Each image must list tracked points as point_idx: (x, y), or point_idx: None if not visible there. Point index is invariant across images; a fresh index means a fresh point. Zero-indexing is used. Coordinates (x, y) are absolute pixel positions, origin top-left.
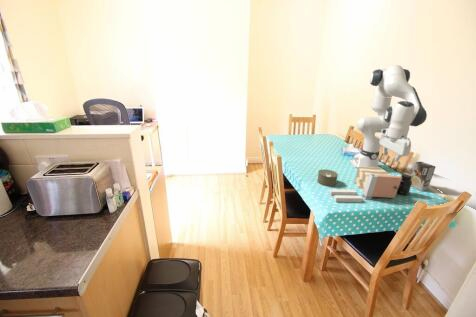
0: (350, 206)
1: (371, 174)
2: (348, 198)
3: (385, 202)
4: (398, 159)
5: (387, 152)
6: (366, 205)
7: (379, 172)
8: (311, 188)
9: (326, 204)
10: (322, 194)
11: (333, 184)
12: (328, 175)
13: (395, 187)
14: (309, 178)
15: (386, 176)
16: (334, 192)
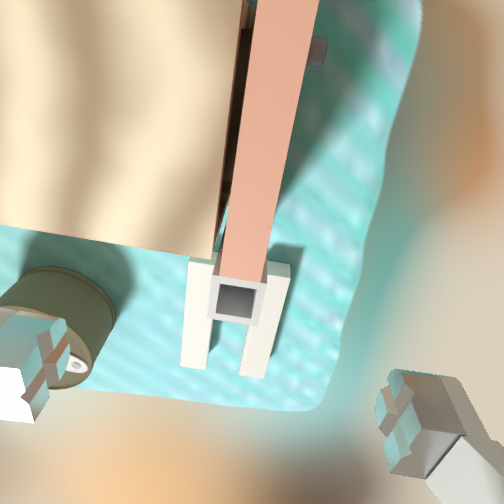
0: (311, 331)
1: (216, 305)
2: (274, 336)
3: (322, 131)
4: (471, 429)
5: (24, 385)
6: (322, 262)
7: (77, 91)
8: (140, 388)
9: (276, 396)
10: (196, 375)
11: (105, 306)
12: (68, 363)
13: (316, 64)
14: None
15: (267, 192)
16: (207, 356)
